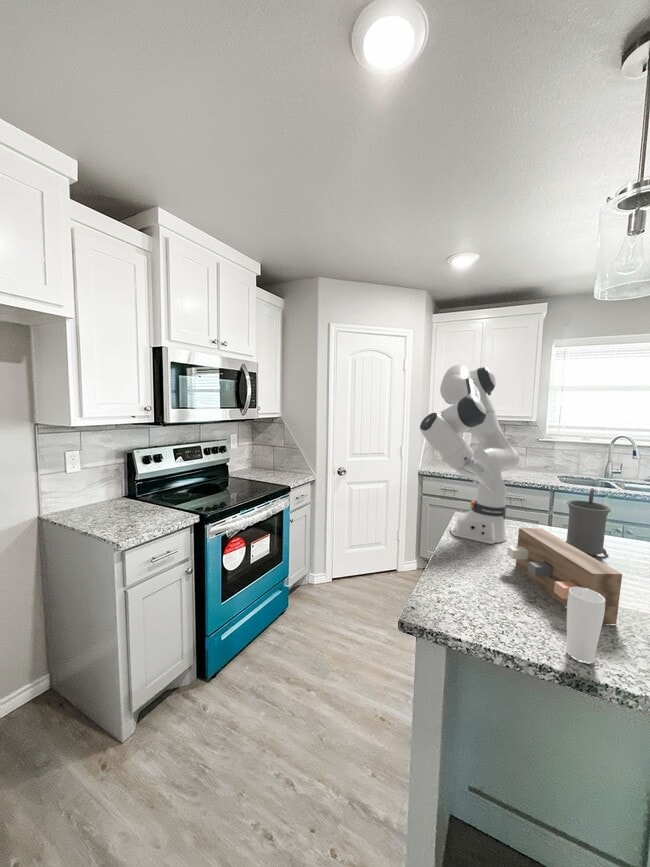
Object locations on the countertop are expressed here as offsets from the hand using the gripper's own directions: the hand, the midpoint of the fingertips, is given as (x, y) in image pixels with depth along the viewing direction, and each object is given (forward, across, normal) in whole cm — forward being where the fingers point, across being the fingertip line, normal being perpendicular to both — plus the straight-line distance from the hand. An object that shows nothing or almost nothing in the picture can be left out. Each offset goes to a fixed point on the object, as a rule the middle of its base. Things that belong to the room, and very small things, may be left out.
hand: (485, 486), depth 119 cm
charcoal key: (+26, -12, +8) cm, 30 cm away
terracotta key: (+26, -24, +8) cm, 36 cm away
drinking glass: (+24, -40, +19) cm, 50 cm away
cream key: (+26, 0, +8) cm, 27 cm away
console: (+34, -12, +8) cm, 37 cm away
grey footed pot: (+56, +16, -15) cm, 61 cm away
